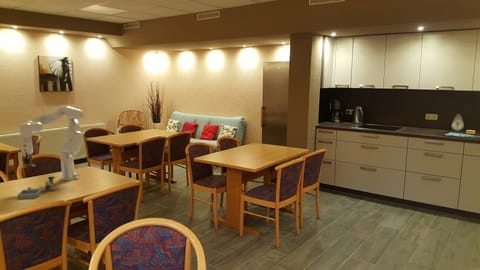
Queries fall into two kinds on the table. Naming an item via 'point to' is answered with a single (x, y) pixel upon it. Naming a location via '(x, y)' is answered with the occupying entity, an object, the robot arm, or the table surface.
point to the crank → (49, 182)
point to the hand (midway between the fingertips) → (28, 162)
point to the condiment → (29, 162)
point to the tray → (29, 193)
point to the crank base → (46, 189)
